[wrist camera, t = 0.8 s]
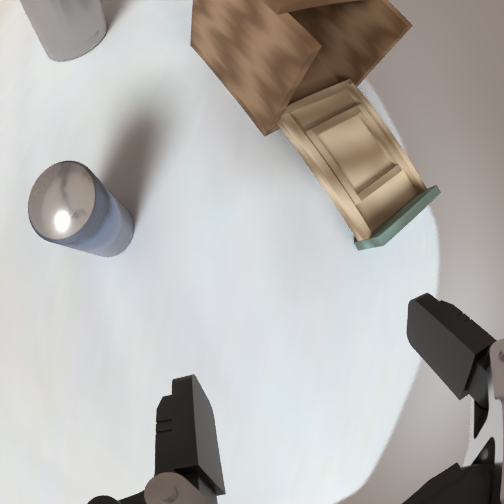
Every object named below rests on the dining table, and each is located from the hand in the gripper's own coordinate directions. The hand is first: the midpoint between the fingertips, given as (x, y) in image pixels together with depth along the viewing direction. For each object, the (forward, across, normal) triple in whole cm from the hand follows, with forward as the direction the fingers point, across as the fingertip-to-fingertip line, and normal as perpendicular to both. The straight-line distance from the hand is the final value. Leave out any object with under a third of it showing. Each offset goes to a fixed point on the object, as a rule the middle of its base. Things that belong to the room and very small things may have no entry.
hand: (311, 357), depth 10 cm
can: (+22, +12, -2) cm, 25 cm away
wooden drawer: (+25, -15, -1) cm, 29 cm away
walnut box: (+31, -10, -14) cm, 35 cm away
